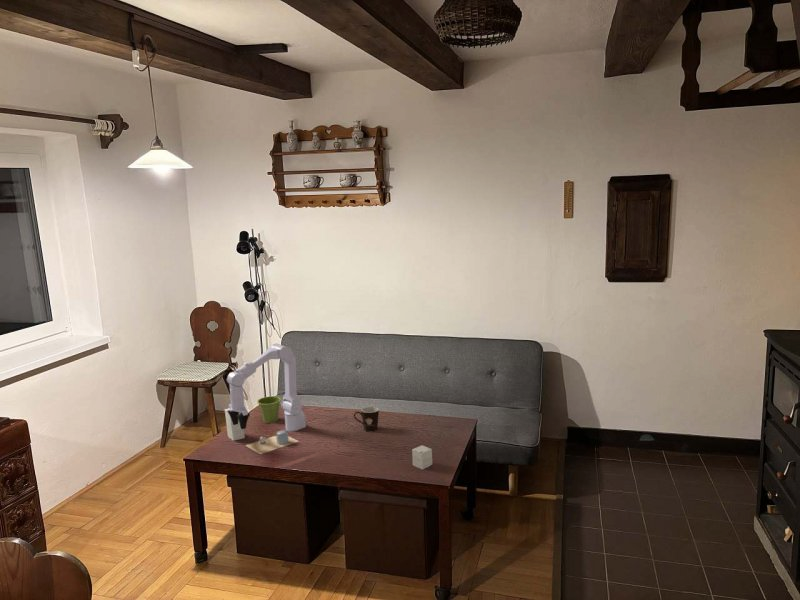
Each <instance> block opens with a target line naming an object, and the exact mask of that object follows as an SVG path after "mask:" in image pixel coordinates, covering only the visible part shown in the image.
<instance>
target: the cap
mask: <svg viewBox="0 0 800 600" xmlns="http://www.w3.org/2000/svg"><path fill="white" fill-rule="evenodd" d="M276 435H277V444H279V445H285V444H288V442H289V437H290V436H289V431H287V430H286V429H285V430H284V429H283V430H278V431H276ZM276 435H275V436H276ZM288 436H289V437H288Z"/></svg>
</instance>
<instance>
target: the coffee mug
mask: <svg viewBox="0 0 800 600" xmlns="http://www.w3.org/2000/svg"><path fill="white" fill-rule="evenodd" d="M379 413H380V409H379V407H376V406H366V407H362V408H361V409H360V411H356V412H354V414H353V417H354V419H355V420H356V421H357V422H359V423H361V424H362V425H363V429H364V431H365V430H366V431H365V432H367V431H373V432H376V431H378V428H379V427H378V424H379V415H380V414H379ZM356 414H360V415H361V418H362V421H361V420H359V419H358V418H357V417H356ZM375 430H376V431H375Z"/></svg>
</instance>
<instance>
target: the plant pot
mask: <svg viewBox="0 0 800 600" xmlns="http://www.w3.org/2000/svg"><path fill="white" fill-rule="evenodd" d="M281 400H282V399H281V397H279V396H276V395H275V396H272V395H271V396H264V397H260V398H259V399H257V404H258V406H259V408H260V413H261V417H262V421H263V423H265V424H266V423H267V424H274V423H276V422H278V420H279V410H280V405H281V404H280V403H281Z"/></svg>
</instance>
